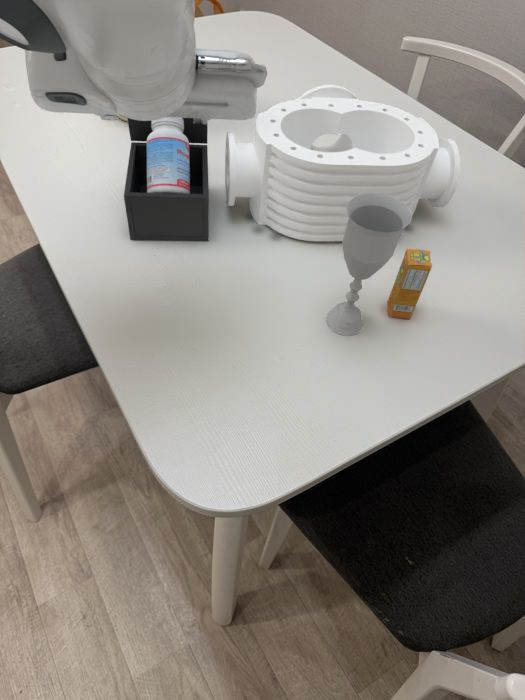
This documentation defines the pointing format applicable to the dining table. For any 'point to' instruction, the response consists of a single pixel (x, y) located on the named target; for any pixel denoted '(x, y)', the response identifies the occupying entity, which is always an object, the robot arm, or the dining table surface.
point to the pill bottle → (168, 157)
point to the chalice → (367, 250)
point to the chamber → (167, 201)
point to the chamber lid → (191, 131)
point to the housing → (336, 162)
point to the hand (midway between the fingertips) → (155, 114)
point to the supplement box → (409, 283)
